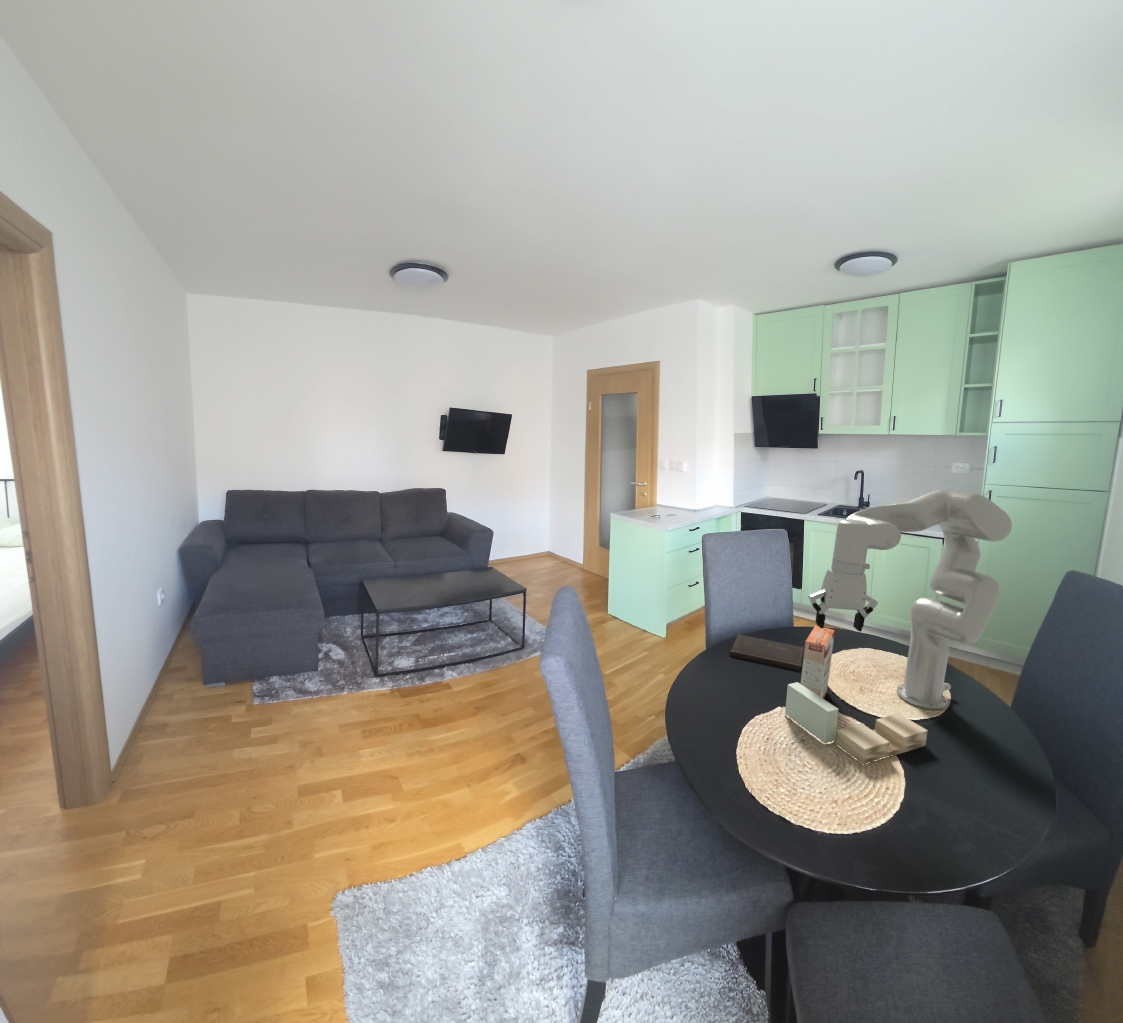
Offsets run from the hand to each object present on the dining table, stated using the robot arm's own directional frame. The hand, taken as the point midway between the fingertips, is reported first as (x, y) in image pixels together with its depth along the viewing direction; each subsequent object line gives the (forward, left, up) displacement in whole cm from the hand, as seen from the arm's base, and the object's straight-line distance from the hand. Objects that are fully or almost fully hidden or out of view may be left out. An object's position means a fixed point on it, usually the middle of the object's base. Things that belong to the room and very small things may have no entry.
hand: (838, 627), depth 135 cm
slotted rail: (-5, +12, -29) cm, 32 cm away
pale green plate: (+7, 0, -29) cm, 30 cm away
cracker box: (-6, -11, -29) cm, 32 cm away
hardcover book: (-13, -39, -30) cm, 51 cm away
